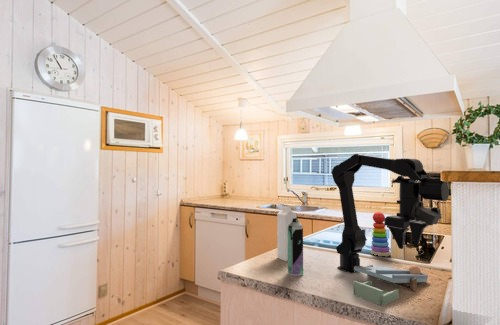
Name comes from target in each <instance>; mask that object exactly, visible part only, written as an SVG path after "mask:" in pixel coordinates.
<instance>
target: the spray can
mask: <svg viewBox="0 0 500 325" xmlns="http://www.w3.org/2000/svg"><path fill="white" fill-rule="evenodd" d="M287 274H288V275H289V276H292V277H301V276H303V275H304V227H303V224H302V223H301V222H300V221H299V220H298V217H297V218H293V221H292V223H290V224H288V261H287Z"/></svg>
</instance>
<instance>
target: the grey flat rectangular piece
mask: <svg viewBox="0 0 500 325" xmlns="http://www.w3.org/2000/svg"><path fill="white" fill-rule="evenodd" d="M354 270H355V271H356V272H360V274H361V273H362V274H365V275H367V274H368V275H371V276H374V277H377V278H380V279H383V280H386V281H389V282H393V283H403V284H407V283H410V279H411V278H414V277H415V278H417V283H427V282H428V274H425V273H423V272H421V273H420V274H419V275H412V274H410V272H409V269H396V268H391V267H388V266H373V267H367V266H362V265H360V266H354Z"/></svg>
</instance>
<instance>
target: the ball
mask: <svg viewBox="0 0 500 325" xmlns="http://www.w3.org/2000/svg"><path fill="white" fill-rule="evenodd" d="M408 270H409V272H410V274H412V275H419V274H420V273H422V272H421V267H419V266H418V265H417V264H411V265H410V266H409V267H408Z"/></svg>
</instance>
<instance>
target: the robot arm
mask: <svg viewBox="0 0 500 325" xmlns="http://www.w3.org/2000/svg"><path fill="white" fill-rule="evenodd" d="M362 166H365V167H369V168H370V167H371V168H376V169H381V170H387V171H390V172H392V173H394V174H395V175H398V176H397V177H396V178H394V180H393V181H392V183H393V184H399V199H398V200H396V204H397V205H398V204H399V209H398V210H399V212H396V215H388V216H385V219H384V222H383V223H384V225H385V226H386V229H387V228H388V229H389V231H390V233H391V235H392V237H393V239H394V240H395V243H396V245H397V247H398V249H399V250H400V249H401V250H404V246H405V237H406V233H407V232H408V231H409V230H410V234H411V237H412V238H411V239H412V241H413V243H414V246H415V245H416V246H419V244H420V241H421V239H422V236H423V232H424V231H425V229H426V228H428V227H430V226H433V225H437V224H438V223H439V221H440V220H441V219H442V218H443V217H442V214H441V212H442V211H441V209H440V208H439V207H437V206H436V207H432V208H430V207H429V208H427V207H425V206H424V202H423V201H421V197H422V199H423V200H428V201H438V202H439V201H440V202H446V201H448V199H449V196H450V188H449V185H448V183H447V181H446V182H442V181H440V178H441V177H438V178H437V177H436V178H435V177H433V178H432V177H430V175H429V174H428V173H427V171H426V170H425V169H424V165H423V163H422V161H420V160H419V159H417V158H387V157H381V156H373V155H365V154H364V153H353V155H351V157H348V158H347V159H346V160H343V161H342V162H340V163H339V164H336V165H334V167H333V168H332V170H331V176H332V179H333V182H334V184H335V185H336V187H337V188H338V190H339V192H338V193H339V199H340V203H341V204H340V205H341V212H342V218H343V223H344V224H343V225H344V226H343V229H342V233H341V242H340V243H339V244H338V245H337V246H336V247H335V249H336V252H337V254H339V266H337V269H338V270H341V271H344V272H347V273H356V272H357V271H355V270H354V266H361V258H360V254H359V253H361V252H362V251H363V248H364V247H365V246H366V244H367V241H368V239H367V237H366V230H365V229H362V228H361V227H360V226H359V224H358V217H357V216H358V215H357V211H356V204H355V198H354V192H353V186H354V182H355V174H356V173H357V172H359V170H360V169H361V168H362ZM418 181H419V182H418Z"/></svg>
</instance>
